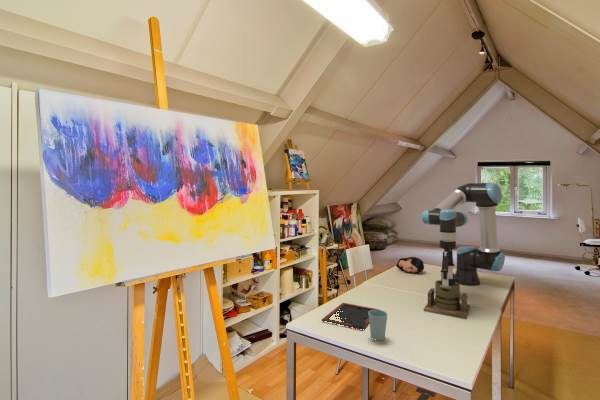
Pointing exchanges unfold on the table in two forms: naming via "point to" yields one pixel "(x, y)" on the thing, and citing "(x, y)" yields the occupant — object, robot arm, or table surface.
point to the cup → (377, 324)
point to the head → (410, 265)
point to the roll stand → (458, 313)
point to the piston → (447, 296)
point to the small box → (452, 280)
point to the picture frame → (351, 315)
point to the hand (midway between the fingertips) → (447, 281)
